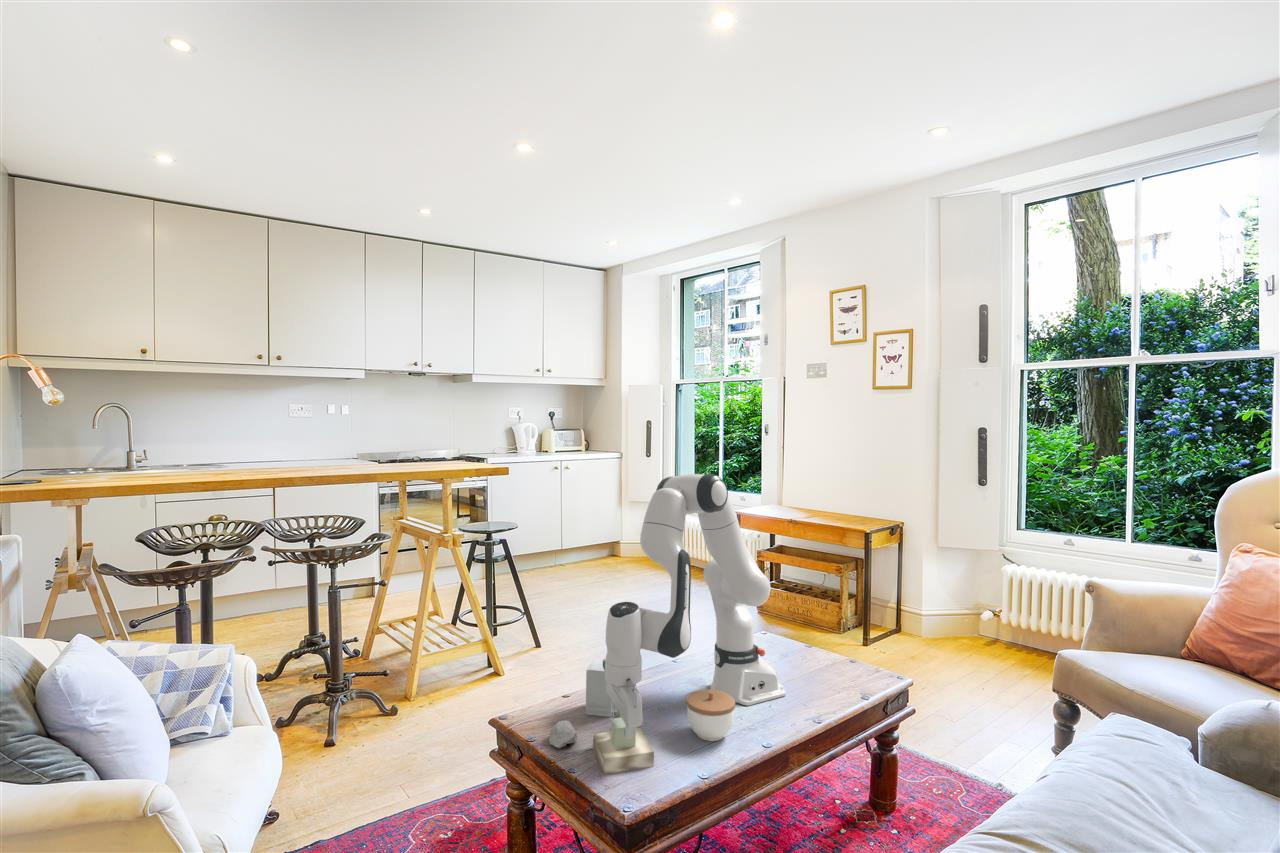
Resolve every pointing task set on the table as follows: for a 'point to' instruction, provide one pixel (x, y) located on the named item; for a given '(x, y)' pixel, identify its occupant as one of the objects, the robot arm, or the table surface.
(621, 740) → the sage cube
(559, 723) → the white clam shell
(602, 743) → the ash block
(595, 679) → the supplement box
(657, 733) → the table surface
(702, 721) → the lidded bowl
